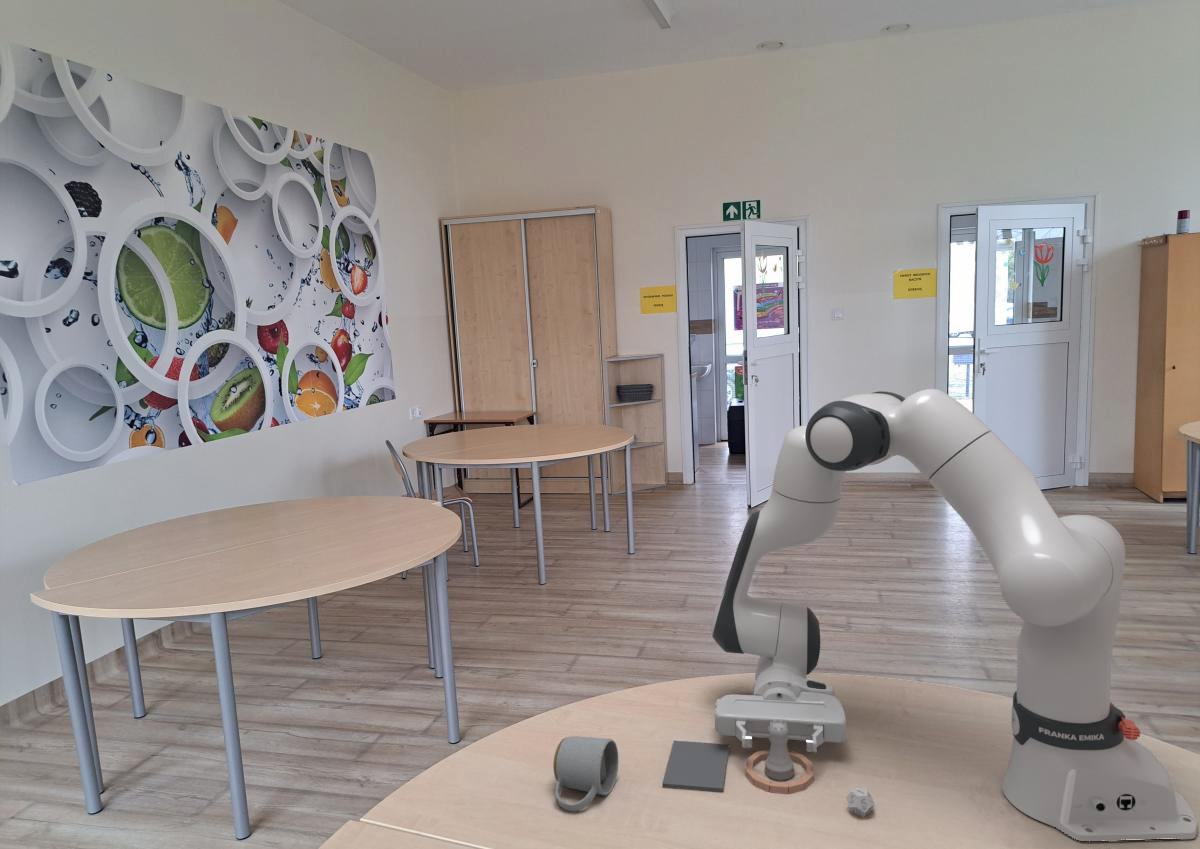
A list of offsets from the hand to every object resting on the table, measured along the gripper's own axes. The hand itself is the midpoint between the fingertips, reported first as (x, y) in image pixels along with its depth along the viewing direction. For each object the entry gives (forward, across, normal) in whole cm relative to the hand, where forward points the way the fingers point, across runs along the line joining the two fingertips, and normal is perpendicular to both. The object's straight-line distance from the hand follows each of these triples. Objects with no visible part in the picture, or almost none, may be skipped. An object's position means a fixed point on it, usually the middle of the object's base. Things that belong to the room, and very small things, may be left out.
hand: (778, 745), depth 120 cm
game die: (+7, +11, +5) cm, 14 cm away
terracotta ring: (-1, 0, +5) cm, 5 cm away
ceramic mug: (+8, -28, +5) cm, 30 cm away
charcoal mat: (-1, -12, +5) cm, 13 cm away
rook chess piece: (-1, 0, +5) cm, 5 cm away
